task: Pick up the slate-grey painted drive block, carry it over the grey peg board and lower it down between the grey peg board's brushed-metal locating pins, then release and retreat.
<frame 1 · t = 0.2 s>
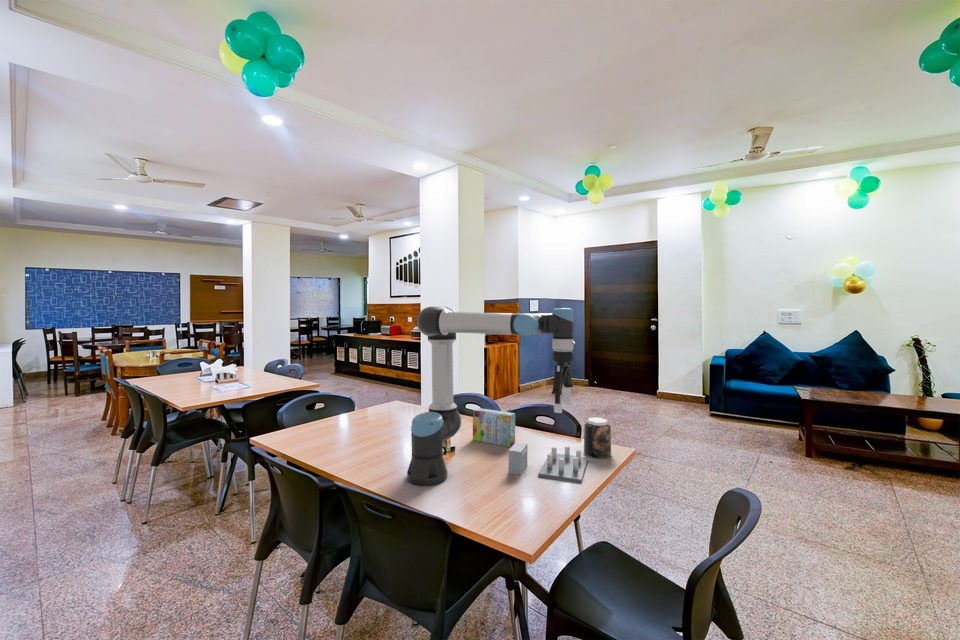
hand: (562, 408, 146), 27 cm above the table, fingers open, 13 cm apart
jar: (597, 454, 177), on the table
snack box: (493, 442, 192), on the table
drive: (518, 469, 159), on the table
grey peg board: (564, 467, 161), on the table
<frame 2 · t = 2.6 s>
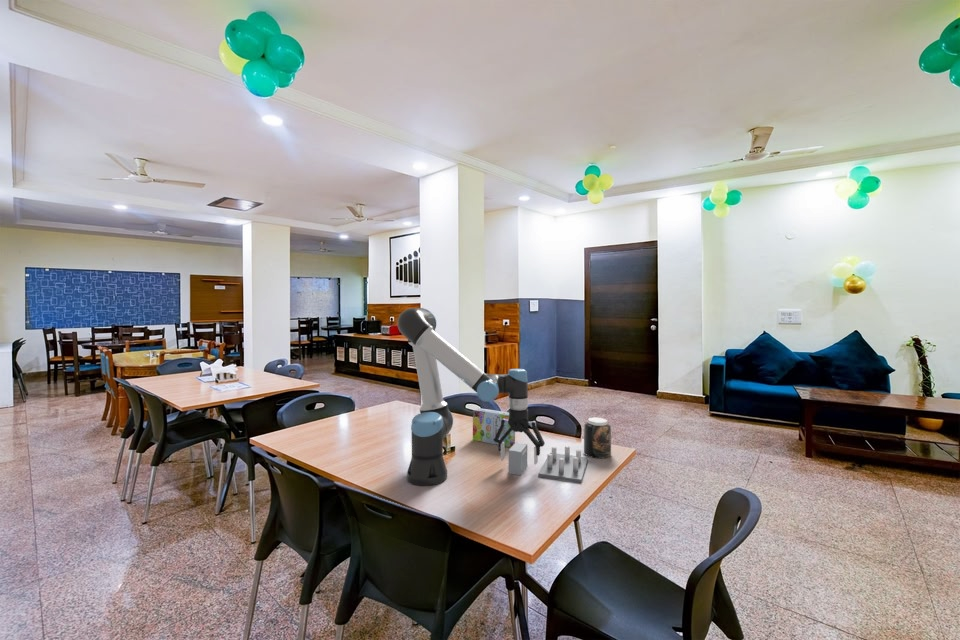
hand: (519, 461, 159), 3 cm above the table, fingers open, 13 cm apart
nothing on the table moved.
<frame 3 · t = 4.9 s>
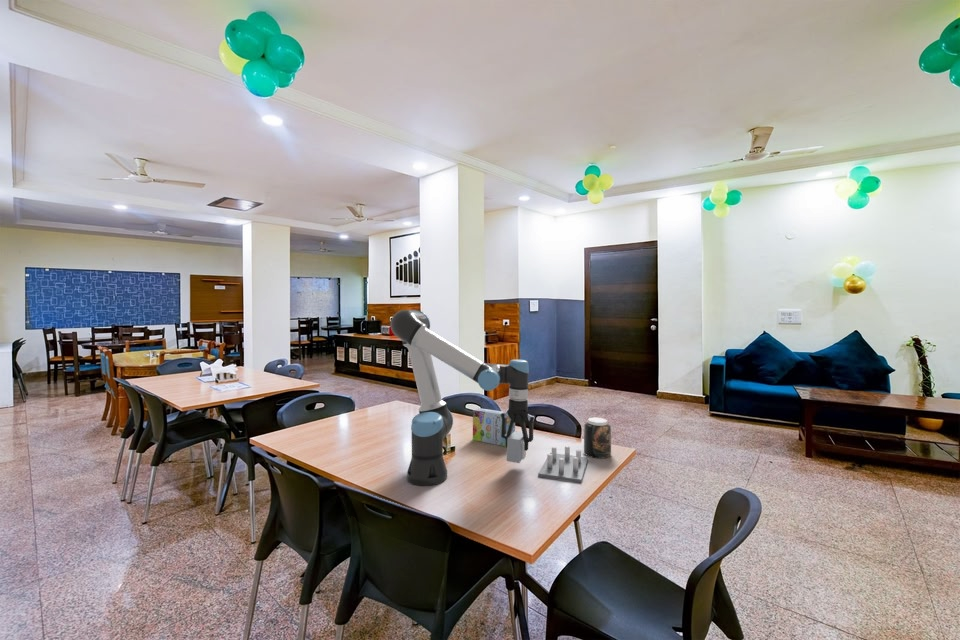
hand: (516, 456, 159), 5 cm above the table, fingers closed on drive, 5 cm apart
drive: (516, 457, 159), point 5 cm above the table, touching gripper
everything else where it was.
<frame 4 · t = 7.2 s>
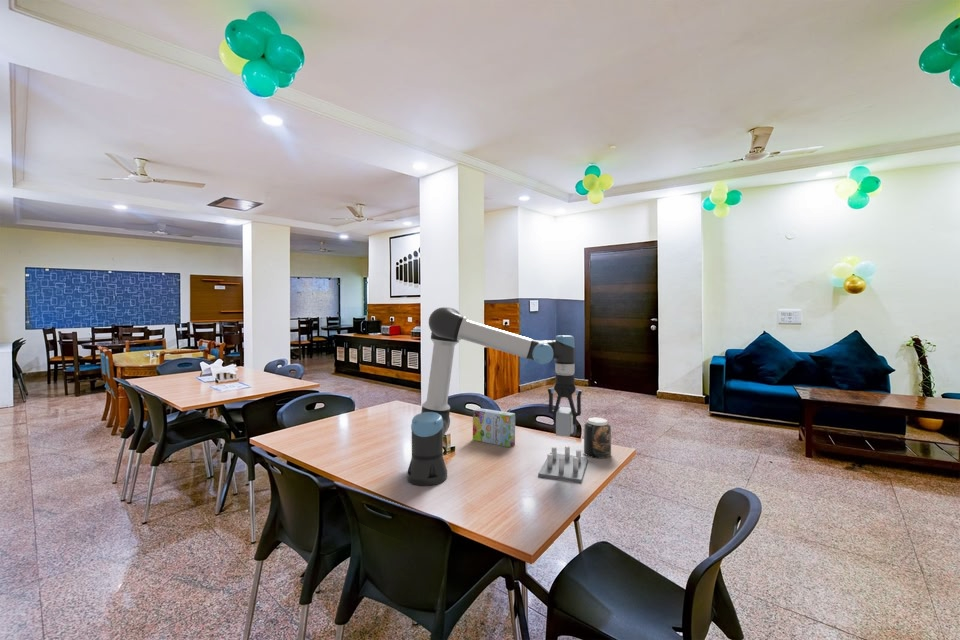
hand: (564, 431, 160), 15 cm above the table, fingers closed on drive, 5 cm apart
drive: (564, 432, 160), point 14 cm above the table, touching gripper
everything else where it was.
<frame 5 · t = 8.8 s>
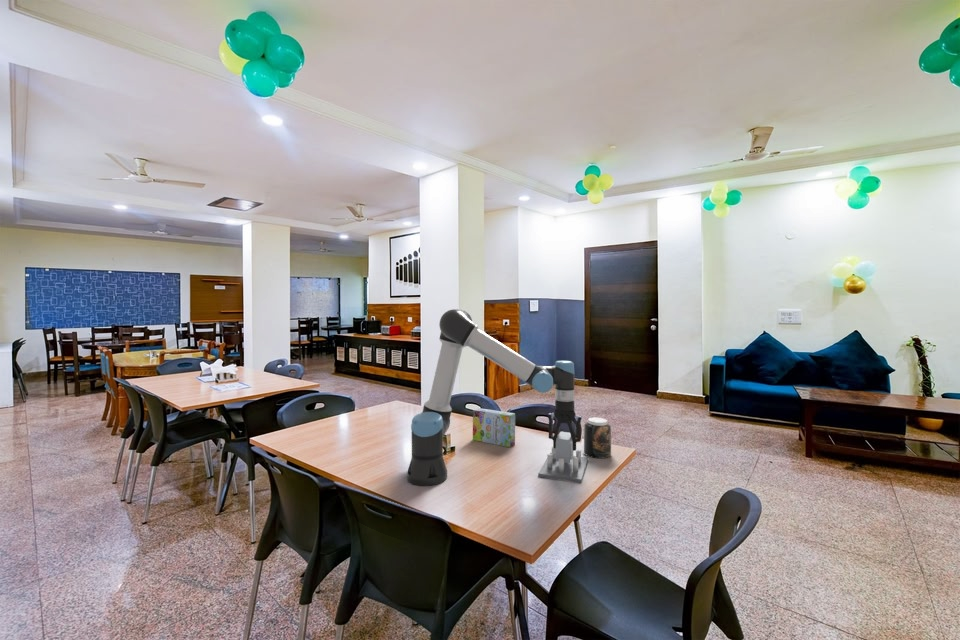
hand: (564, 457, 160), 4 cm above the table, fingers closed on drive, 5 cm apart
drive: (564, 457, 160), point 4 cm above the table, touching gripper
everything else where it was.
when the fingers open (3 cm above the table, at t = 9.8 s): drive drops 1 cm, resting on grey peg board.
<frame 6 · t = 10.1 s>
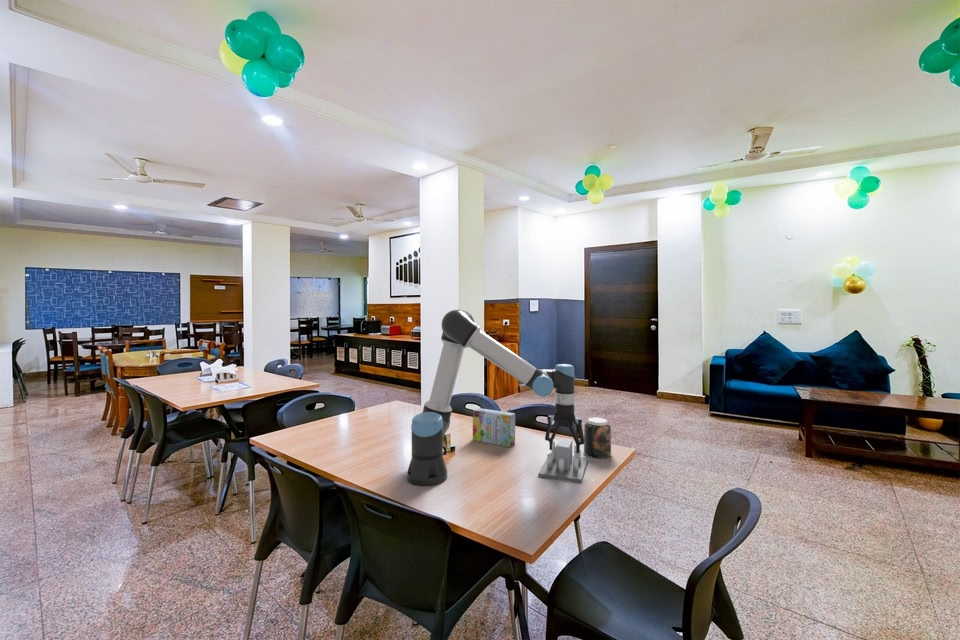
hand: (564, 459, 161), 3 cm above the table, fingers open, 8 cm apart
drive: (564, 465, 160), point 1 cm above the table, touching grey peg board
everything else where it was.
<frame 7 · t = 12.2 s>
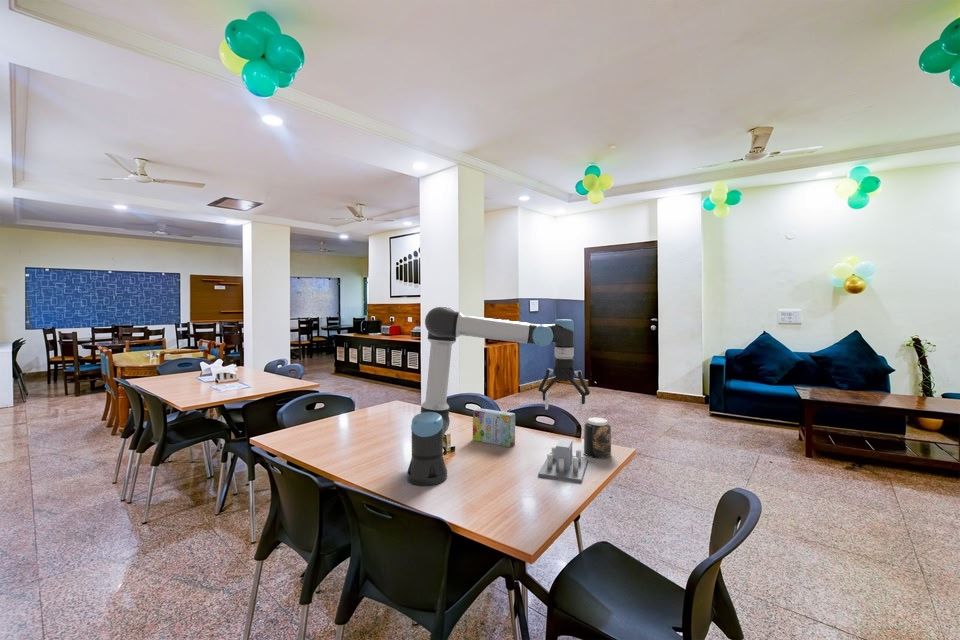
hand: (563, 410, 161), 23 cm above the table, fingers open, 13 cm apart
nothing on the table moved.
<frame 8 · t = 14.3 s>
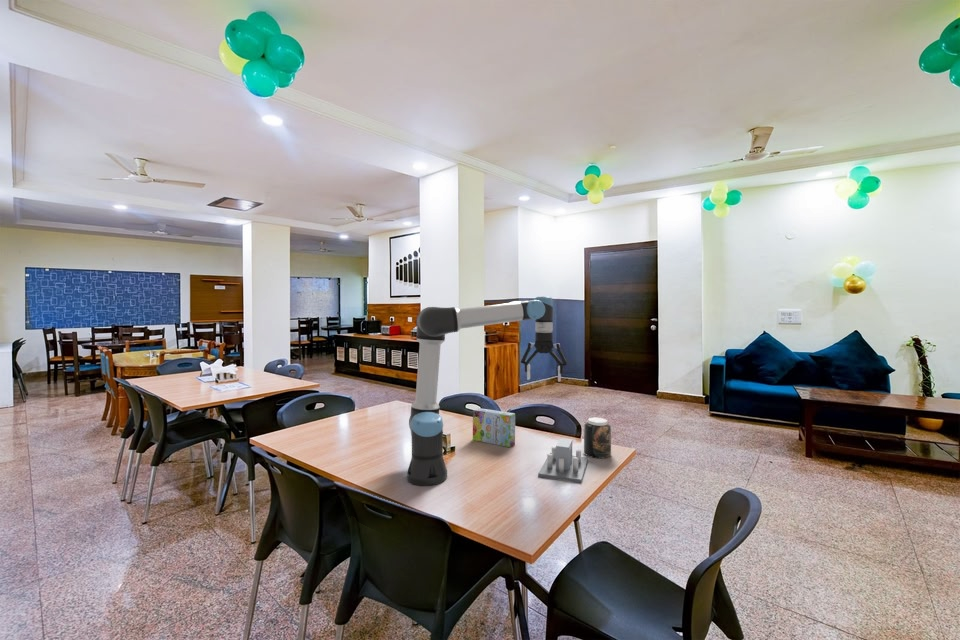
hand: (543, 380, 175), 33 cm above the table, fingers open, 13 cm apart
nothing on the table moved.
at the end: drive 0.1 cm off-centre on the grey peg board, point 1.2 cm above the grey peg board's base; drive tilted 0°; the gripper is holding nothing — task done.
